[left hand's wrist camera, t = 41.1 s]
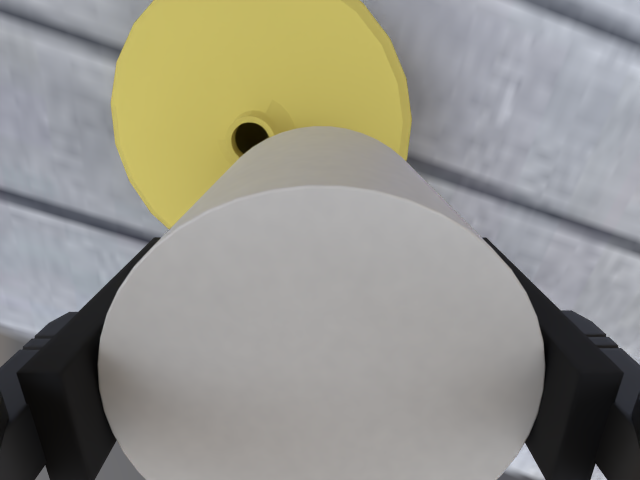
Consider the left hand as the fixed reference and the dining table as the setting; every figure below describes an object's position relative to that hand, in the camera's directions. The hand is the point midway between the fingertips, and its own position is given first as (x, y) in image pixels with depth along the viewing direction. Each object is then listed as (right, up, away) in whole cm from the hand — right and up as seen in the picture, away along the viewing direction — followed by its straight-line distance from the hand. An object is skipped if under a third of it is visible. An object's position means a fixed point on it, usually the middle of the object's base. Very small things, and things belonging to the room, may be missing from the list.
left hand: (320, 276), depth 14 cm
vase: (-3, +8, +12) cm, 14 cm away
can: (0, +1, +3) cm, 3 cm away
